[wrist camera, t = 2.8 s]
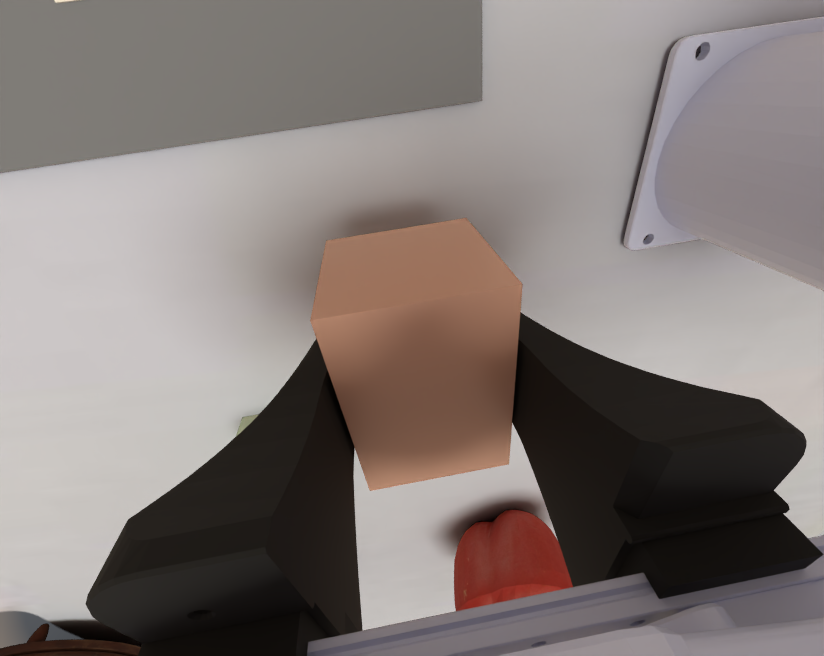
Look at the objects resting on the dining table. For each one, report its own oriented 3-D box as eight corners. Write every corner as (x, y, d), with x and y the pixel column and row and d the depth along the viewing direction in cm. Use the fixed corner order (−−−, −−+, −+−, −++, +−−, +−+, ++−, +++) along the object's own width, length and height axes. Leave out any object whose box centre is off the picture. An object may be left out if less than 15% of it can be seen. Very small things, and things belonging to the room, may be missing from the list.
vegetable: (416, 549, 33) (437, 703, 25) (464, 487, 28) (510, 653, 19) (512, 553, 36) (558, 688, 28) (570, 498, 31) (647, 643, 23)
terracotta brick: (466, 217, 11) (522, 284, 7) (470, 369, 15) (508, 464, 11) (326, 240, 11) (310, 320, 7) (366, 387, 14) (369, 490, 11)
